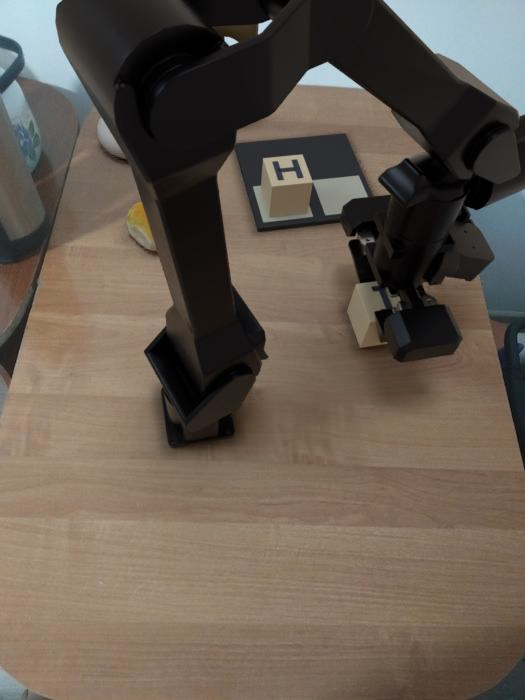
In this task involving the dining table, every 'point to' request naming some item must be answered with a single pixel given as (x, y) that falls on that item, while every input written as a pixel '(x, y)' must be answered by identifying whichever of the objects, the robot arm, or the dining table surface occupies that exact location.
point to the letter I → (368, 311)
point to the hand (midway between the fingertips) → (376, 321)
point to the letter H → (286, 185)
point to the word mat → (325, 170)
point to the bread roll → (140, 226)
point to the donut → (108, 140)
